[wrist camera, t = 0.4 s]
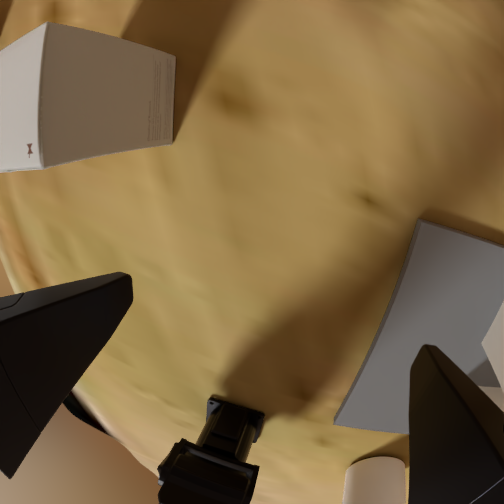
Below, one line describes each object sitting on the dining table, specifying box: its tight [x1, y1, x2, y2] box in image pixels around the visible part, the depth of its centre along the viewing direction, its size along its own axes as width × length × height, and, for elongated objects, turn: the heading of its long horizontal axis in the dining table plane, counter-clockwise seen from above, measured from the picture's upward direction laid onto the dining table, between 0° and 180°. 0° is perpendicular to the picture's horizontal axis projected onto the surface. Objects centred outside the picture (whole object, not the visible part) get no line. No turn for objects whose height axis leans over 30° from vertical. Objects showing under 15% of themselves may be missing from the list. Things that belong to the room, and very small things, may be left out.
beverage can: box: [342, 457, 406, 504], centre depth 25 cm, size 8×8×12 cm
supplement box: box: [0, 22, 176, 173], centre depth 16 cm, size 7×7×13 cm
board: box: [333, 218, 504, 434], centre depth 22 cm, size 22×19×1 cm
